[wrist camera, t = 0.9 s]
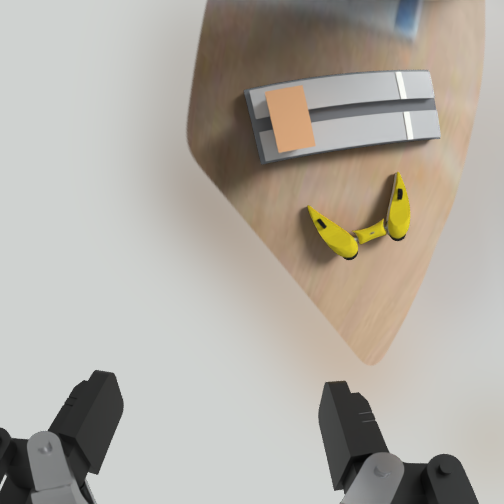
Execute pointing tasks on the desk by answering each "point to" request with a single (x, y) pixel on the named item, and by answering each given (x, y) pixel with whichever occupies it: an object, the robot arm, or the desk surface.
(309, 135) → the cap
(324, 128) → the fader track
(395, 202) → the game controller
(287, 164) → the desk surface
